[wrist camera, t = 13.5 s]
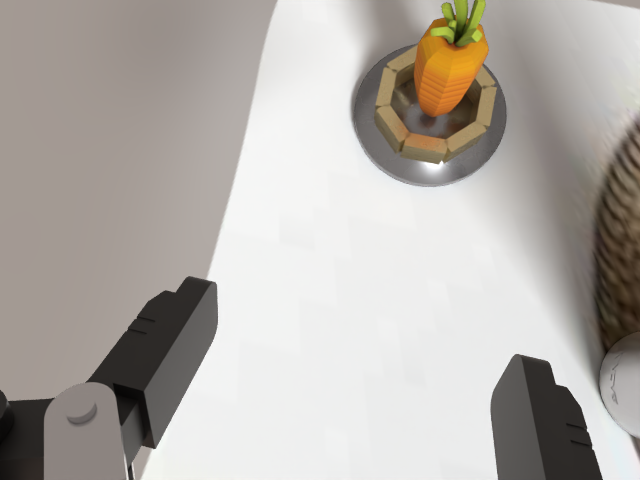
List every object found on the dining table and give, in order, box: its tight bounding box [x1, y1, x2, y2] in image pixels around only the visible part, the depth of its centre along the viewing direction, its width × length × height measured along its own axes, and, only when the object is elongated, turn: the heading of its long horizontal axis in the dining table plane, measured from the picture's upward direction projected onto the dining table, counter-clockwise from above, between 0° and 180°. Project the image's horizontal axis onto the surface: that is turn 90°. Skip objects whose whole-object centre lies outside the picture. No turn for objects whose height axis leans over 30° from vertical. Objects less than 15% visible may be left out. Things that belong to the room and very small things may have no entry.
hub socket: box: [355, 44, 506, 187], centre depth 41 cm, size 14×14×4 cm
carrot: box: [414, 0, 489, 117], centre depth 35 cm, size 5×5×15 cm
